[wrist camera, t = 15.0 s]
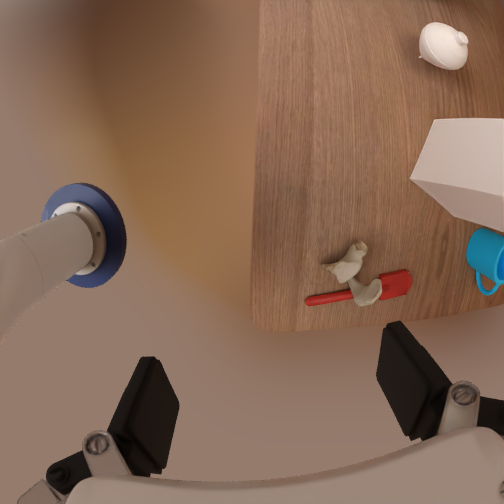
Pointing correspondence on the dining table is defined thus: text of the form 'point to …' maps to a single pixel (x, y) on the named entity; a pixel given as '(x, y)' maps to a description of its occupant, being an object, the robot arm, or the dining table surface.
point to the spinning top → (443, 46)
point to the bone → (350, 268)
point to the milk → (465, 169)
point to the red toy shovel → (391, 287)
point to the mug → (487, 257)
